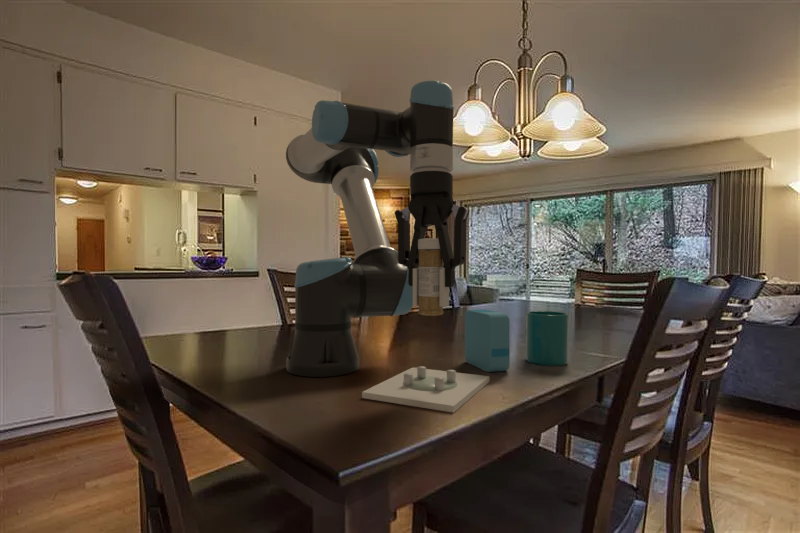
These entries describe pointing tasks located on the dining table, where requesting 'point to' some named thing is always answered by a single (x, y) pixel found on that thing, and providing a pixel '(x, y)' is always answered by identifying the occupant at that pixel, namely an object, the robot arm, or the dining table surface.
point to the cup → (547, 338)
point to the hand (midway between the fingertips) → (430, 305)
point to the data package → (487, 340)
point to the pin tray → (428, 388)
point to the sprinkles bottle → (429, 276)
